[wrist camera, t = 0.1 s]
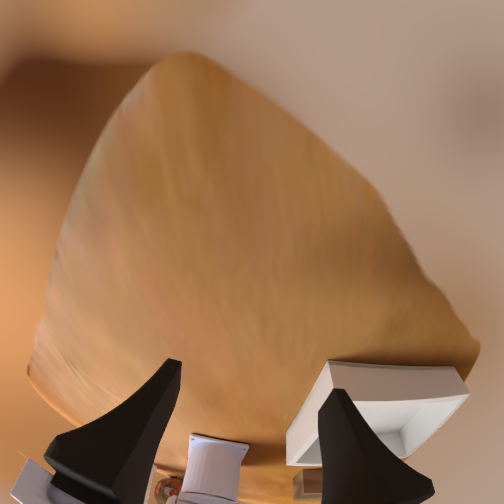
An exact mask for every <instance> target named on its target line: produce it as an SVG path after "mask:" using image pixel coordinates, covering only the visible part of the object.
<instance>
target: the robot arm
mask: <svg viewBox="0 0 504 504" xmlns="http://www.w3.org/2000/svg"><path fill="white" fill-rule="evenodd" d="M181 366H182V362H181V361H177V360H174V359H170V358H168V359H166V361H165V362H164V363H163V365H162V366H161V367H160V368H159V369H158V370H157V372H156V373H155V374H154V375H153V376H152V377H151V378H150V379H149V380H148V381H147V382H146V383H145V384H144V385H143V386H142V387H141V388H140V389H139V390H137V391H136V392H135V393H134V394H133V395H132V396H130V397H129V398H128V399H127V400H125V401H124V402H123V403H122V404H120V405H119V406H117V407H116V408H114V409H113V410H111V411H110V412H108V413H107V414H105V415H103V416H102V417H100V418H98V419H96V420H94V421H92V422H90V423H88V424H86V425H84V426H82V427H79V428H77V429H75V430H72V431H69V432H66V433H63V434H60V435H57V436H56V437H55V438H54V440H53V441H52V442H51V443H50V445H49V447H48V449H47V451H46V452H45V454H44V459H45V460H46V462H47V463H48V464H50V466H51V467H52V468H53V469H54V470H55V471H56V473H55V475H53V474H51V473H50V472H49V471H47V470H46V469H44V468H43V467H41V466H40V465H38V464H37V463H35V462H34V461H32V460H31V459H27V461H26V463H25V465H24V467H23V468H22V471H21V472H20V474H19V476H18V478H17V480H16V482H15V484H14V486H13V488H12V490H11V492H10V495H11V496H12V497H14V498H15V499H16V500H17V501H19V502H20V503H21V504H144V499H145V495H146V490H147V486H148V482H149V478H150V474H151V470H152V466H153V462H154V459H155V455H156V452H157V449H158V446H159V443H160V440H161V438H162V436H163V433H164V431H165V429H166V426H167V424H168V422H169V419H170V417H171V415H172V412H173V410H174V407H175V404H176V401H177V398H178V394H179V391H180V381H181ZM318 436H319V444H320V451H321V459H322V468H323V488H322V502H321V504H420V503H422V502H423V501H425V500H427V499H429V498H430V497H431V496H433V495H434V493H435V490H434V487H433V483H432V480H431V479H429V478H427V477H426V476H424V475H422V474H420V473H418V472H417V471H415V470H414V469H412V468H411V467H409V466H408V465H407V464H405V463H404V462H403V461H402V460H400V459H399V458H398V457H397V456H396V455H395V454H394V453H393V452H391V451H390V450H389V449H388V447H387V446H386V445H385V444H384V443H383V442H382V441H381V440H380V439H379V438H378V436H377V435H376V434H375V433H374V431H373V430H372V429H371V428H370V426H369V425H368V423H367V422H366V421H365V419H364V418H363V416H362V415H361V413H360V412H359V410H358V409H357V407H356V406H355V404H354V403H353V401H352V400H351V398H350V397H349V395H348V393H347V392H346V390H345V389H339V388H333V389H332V391H331V393H330V394H329V396H328V397H327V399H326V400H325V402H324V403H323V405H322V406H321V408H320V409H319V411H318ZM248 449H249V445H247V444H242V443H235V442H229V441H224V440H218V439H213V438H209V437H204V436H200V435H195V434H190V438H189V451H188V459H189V460H188V464H187V468H186V472H185V476H184V480H183V485H182V489H181V492H179V495H178V496H175V495H173V496H172V497H169V498H168V500H167V502H166V504H239V502H237V494H238V485H239V476H240V466H241V462H242V460H243V458H244V457H245V455H246V453H247V451H248Z"/></svg>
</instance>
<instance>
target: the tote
mask: <svg viewBox="0 0 504 504" xmlns="http://www.w3.org/2000/svg"><path fill="white" fill-rule="evenodd" d="M333 388H339V389H345V390H346V392H347V393H348V395H349V397H350V398H351V400H352V401H353V403H354V404H355V406H356V407H357V409H358V410H359V412H360V413H361V415H362V416H363V418H364V419H365V421H366V422H367V423H368V425H369V426H370V428H371V429H372V430H373V431H374V433H375V434H376V435H377V436H378V438H379V439H380V440H381V441H382V442H383V443H384V444H385V445H386V446H387V447H388V449H389V450H390V451H391V452H393V453H394V454H395V455H396V456H397V457H398V458H399V459H400V458H406V457H408V456H409V455H411V454H412V453H413V452H414V451H415V450H416V449H418V448H419V447H420V446H421V445H422V444H423V443H424V442H425V441H426V440H427V439H429V437H431V436H432V435H433V434H434V433H435V432H436V431H437V430H438V429H439V428H440V427H441V426H442V425H443V424H444V423H445V422H446V421H447V420H448V419H449V417H450V416H451V415H452V414H453V413H454V412H455V411H456V410H457V409H458V407H459V406H460V405H461V404H462V403H463V402H464V400H465V399H466V398H467V397H468V396H469V395H470V392H469V391H468V389H467V387H466V385H465V384H464V382H463V380H462V379H461V377H460V376H459V374H458V373H457V371H456V369H455V368H454V366H396V365H377V364H363V363H352V362H341V361H332V360H327V362H326V364H325V366H324V368H323V370H322V372H321V373H320V375H319V377H318V379H317V381H316V383H315V385H314V386H313V388H312V390H311V392H310V393H309V395H308V397H307V399H306V400H305V402H304V404H303V406H302V407H301V409H300V411H299V412H298V414H297V416H296V417H295V419H294V421H293V422H292V424H291V425H290V427H289V429H288V430H287V432H286V465H291V466H322V459H321V451H320V444H319V436H318V411H319V409H320V408H321V406H322V405H323V403H324V402H325V400H326V399H327V397H328V396H329V394H330V393H331V391H332V389H333Z"/></svg>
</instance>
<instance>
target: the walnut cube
mask: <svg viewBox="0 0 504 504" xmlns="http://www.w3.org/2000/svg"><path fill="white" fill-rule="evenodd" d="M322 488H323V469H303V470H302V471H300V472H299V473H298V474H297V475H296V476H295V477H294V478H293V501H305V500H321V499H322Z"/></svg>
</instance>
